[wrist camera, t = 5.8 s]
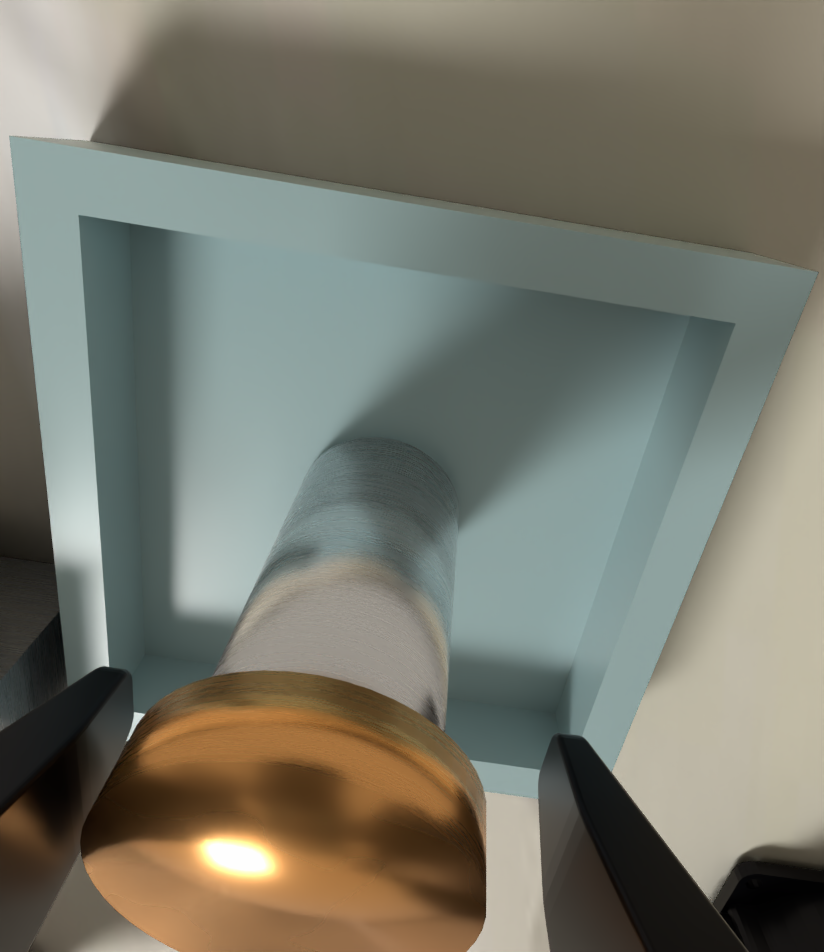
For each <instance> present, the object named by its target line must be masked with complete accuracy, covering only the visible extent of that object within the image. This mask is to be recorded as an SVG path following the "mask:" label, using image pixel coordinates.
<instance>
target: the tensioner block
mask: <svg viewBox="0 0 824 952" xmlns="http://www.w3.org/2000/svg"><path fill="white" fill-rule="evenodd" d="M67 687H68V684H67V674H66V665H65V655H64V646H63V637H62V627H61V618H60V608H59V599H58V590H57V580H56V571H55V564H48V563H41V562H35V561H28V560H21V559H15V558H8V557H1V556H0V731H1V730H3V729H4V728H6V727H7V726H9V725H11V724H12V723H14V722H15V721H17V720H18V719H20V718H21V717H23V716H24V715H26V714H27V713H29V712H30V711H32V710H33V709H35V708H36V707H38V706H39V705H41V704H43V703H44V702H46V701H47V700H49V699H50V698H52V697H53V696H55V695H56V694H58V693H59V692H61V691H62V690H64V689H65V688H67Z"/></svg>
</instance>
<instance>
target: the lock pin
mask: <svg viewBox="0 0 824 952" xmlns="http://www.w3.org/2000/svg"><path fill="white" fill-rule="evenodd" d="M458 520H459V503H458V497H457V494H456V491H455V488H454V486H453V484H452V482H451V480H450V478H449V476H448V475H447V473H446V472H445V471H444V469H443V468H442V467H441V466H440V465H439V464H438V463H437V462H436V461H435V460H434V459H432V458H431V457H430V456H429V455H427V454H426V453H424V452H423V451H421V450H419V449H417V448H415V447H413V446H412V445H409V444H406V443H404V442H401V441H397V440H393V439H388V438H379V437H366V438H358V439H353V440H349V441H346V442H343V443H340V444H338V445H336V446H334V447H332V448H330V449H328V450H327V451H326V452H324V453H323V454H322V455H320V457H319V458H318V459H317V460H316V461H315V462H314V463H313V464H312V466H311V467H310V468H309V470H308V472H307V474H306V476H305V478H304V480H303V482H302V484H301V486H300V489H299V491H298V493H297V495H296V497H295V499H294V501H293V504H292V506H291V508H290V510H289V512H288V514H287V516H286V519H285V521H284V523H283V525H282V527H281V529H280V531H279V534H278V536H277V538H276V540H275V542H274V544H273V546H272V549H271V551H270V553H269V555H268V557H267V559H266V561H265V564H264V566H263V568H262V570H261V572H260V574H259V576H258V579H257V581H256V583H255V585H254V587H253V589H252V591H251V594H250V596H249V598H248V600H247V602H246V604H245V606H244V609H243V611H242V613H241V615H240V617H239V619H238V621H237V624H236V626H235V628H234V630H233V632H232V634H231V636H230V639H229V641H228V643H227V645H226V647H225V649H224V651H223V654H222V656H221V658H220V660H219V662H218V664H217V667H216V669H215V671H214V673H213V675H212V677H209V678H206V679H202V680H198V681H195V682H192V683H190V684H188V685H185V686H183V687H181V688H179V689H176V690H174V691H173V692H171V693H170V694H168V695H166V696H165V697H163V698H162V699H160V700H159V701H158V702H157V703H155V704H154V705H153V706H152V707H151V708H150V709H149V710H148V711H147V712H146V713H145V715H144V716H143V717H142V719H141V720H140V721H139V723H138V724H137V726H136V728H135V729H134V731H133V733H132V735H131V737H130V739H129V740H128V742H127V744H126V746H125V748H124V750H123V751H122V753H121V755H120V757H119V759H118V760H117V762H116V764H115V766H114V768H113V770H112V771H111V773H110V775H109V777H108V779H107V781H106V782H105V784H104V786H103V788H102V790H101V791H100V793H99V795H98V797H97V799H96V801H95V802H94V804H93V806H92V808H91V810H90V812H89V813H88V815H87V818H86V820H85V822H84V825H83V827H82V831H81V838H80V848H81V857H82V860H83V863H84V866H85V869H86V871H87V873H88V875H89V877H90V878H91V880H92V882H93V884H94V885H95V887H96V888H97V889H98V891H99V892H100V893H101V895H102V896H103V897H104V898H105V899H106V900H107V901H108V902H109V903H110V904H111V906H112V907H113V908H114V909H115V910H116V911H117V912H119V913H120V914H121V915H122V916H124V917H125V918H126V919H127V920H128V921H130V922H131V923H132V924H133V925H135V926H136V927H138V928H139V929H141V930H142V931H144V932H145V933H147V934H148V935H150V936H151V937H153V938H155V939H157V940H158V941H160V942H162V943H164V944H165V945H167V946H169V947H171V948H173V949H175V950H177V951H179V952H466V951H467V950H468V949H469V948H470V947H471V946H472V945H473V944H474V943H475V941H476V940H477V938H478V936H479V934H480V933H481V931H482V928H483V925H484V921H485V918H486V799H485V794H484V789H483V785H482V783H481V781H480V778H479V776H478V773H477V771H476V769H475V768H474V766H473V765H472V763H471V762H470V760H469V758H468V757H467V755H466V754H465V753H464V752H463V751H462V750H461V748H460V747H459V746H458V745H457V744H456V743H455V742H454V740H452V739H451V738H450V737H449V736H448V735H447V734H446V733H445V725H446V709H447V694H448V678H449V662H450V646H451V630H452V614H453V599H454V583H455V567H456V551H457V535H458Z"/></svg>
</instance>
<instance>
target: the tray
mask: <svg viewBox="0 0 824 952" xmlns="http://www.w3.org/2000/svg"><path fill="white" fill-rule="evenodd" d="M9 138H10V147H11V157H12V166H13V176H14V185H15V194H16V204H17V213H18V223H19V232H20V242H21V251H22V260H23V270H24V279H25V289H26V298H27V307H28V317H29V326H30V336H31V345H32V354H33V364H34V373H35V383H36V392H37V401H38V411H39V420H40V430H41V439H42V449H43V458H44V467H45V477H46V486H47V496H48V505H49V514H50V524H51V533H52V543H53V552H54V561H55V571H56V580H57V590H58V599H59V608H60V618H61V627H62V637H63V646H64V655H65V665H66V674H67V684H68V686H70V685H71V684H73V683H75V682H76V681H78V680H79V679H81V678H82V677H84V676H85V675H87V674H88V673H90V672H91V671H93V670H94V669H96V668H99V667H102V666H106V667H113V668H120V669H126V670H128V671H130V673H131V675H132V681H133V703H134V718H133V723H132V727H131V730H130V733H129V735H128V738H127V740H126V741H128V740H129V739H130V737H131V735H132V733H133V731H134V729H135V728H136V726H137V724H138V723H139V721H140V720H141V719H142V717H143V716H144V715H145V713H146V712H147V711H148V710H149V709H150V708H151V707H152V706H153V705H154V704H155V703H157V702H158V701H159V700H160V699H162V698H163V697H165V696H166V695H168V694H170V693H171V692H173V691H174V690H176V689H179V688H181V687H183V686H185V685H188V684H190V683H192V682H195V681H198V680H202V679H206V678H209V677H212V675H213V673H214V671H215V669H216V667H217V664H218V662H219V660H220V658H221V656H222V654H223V651H224V649H225V647H226V645H227V643H228V641H229V639H230V636H231V634H232V632H233V630H234V628H235V626H236V624H237V621H238V619H239V617H240V615H241V613H242V611H243V609H244V606H245V604H246V602H247V600H248V598H249V596H250V594H251V591H252V589H253V587H254V585H255V583H256V581H257V579H258V576H259V574H260V572H261V570H262V568H263V566H264V564H265V561H266V559H267V557H268V555H269V553H270V551H271V549H272V546H273V544H274V542H275V540H276V538H277V536H278V534H279V531H280V529H281V527H282V525H283V523H284V521H285V519H286V516H287V514H288V512H289V510H290V508H291V506H292V504H293V501H294V499H295V497H296V495H297V493H298V491H299V489H300V486H301V484H302V482H303V480H304V478H305V476H306V474H307V472H308V470H309V468H310V467H311V466H312V464H313V463H314V462H315V461H316V460H317V459H318V458H319V457H320V455H322V454H323V453H324V452H326V451H327V450H328V449H330V448H332V447H334V446H336V445H338V444H340V443H343V442H346V441H349V440H353V439H358V438H366V437H379V438H388V439H393V440H397V441H401V442H404V443H406V444H409V445H412V446H413V447H415V448H417V449H419V450H421V451H423V452H424V453H426V454H427V455H429V456H430V457H431V458H432V459H434V460H435V461H436V462H437V463H438V464H439V465H440V466H441V467H442V468H443V469H444V471H445V472H446V473H447V475H448V476H449V478H450V480H451V482H452V484H453V486H454V488H455V491H456V494H457V497H458V503H459V520H458V535H457V551H456V567H455V583H454V599H453V614H452V630H451V646H450V662H449V678H448V694H447V709H446V725H445V733H446V734H447V735H448V736H449V737H450V738H451V739H452V740H454V742H455V743H456V744H457V745H458V746H459V747H460V748H461V750H462V751H463V752H464V753H465V754H466V755H467V757H468V758H469V760H470V762H471V763H472V765H473V766H474V768H475V769H476V771H477V773H478V776H479V778H480V781H481V783H482V785H483V789H484V791H486V792H493V793H500V794H507V795H514V796H522V797H529V798H536V799H538V779H539V773H540V770H541V767H542V764H543V761H544V758H545V755H546V752H547V749H548V746H549V743H550V741H551V738H552V737H553V735H554V734H555V733H566V734H573V735H580V736H582V737H584V738H585V739H586V740H587V741H588V742H589V743H590V745H591V746H592V747H593V749H594V750H595V751H596V753H597V754H598V755H599V757H600V758H601V759H602V760H603V762H604V763H605V764H606V766H607V767H608V768H609V770H610V771H611V772H612V770H613V767H614V765H615V762H616V760H617V758H618V755H619V753H620V750H621V748H622V746H623V743H624V741H625V738H626V736H627V734H628V731H629V729H630V726H631V724H632V721H633V719H634V717H635V714H636V712H637V709H638V707H639V705H640V702H641V700H642V697H643V695H644V693H645V690H646V688H647V685H648V683H649V680H650V678H651V676H652V673H653V671H654V668H655V666H656V664H657V661H658V659H659V656H660V654H661V652H662V649H663V647H664V644H665V642H666V639H667V637H668V635H669V632H670V630H671V627H672V625H673V623H674V620H675V618H676V615H677V613H678V610H679V608H680V606H681V603H682V601H683V598H684V596H685V594H686V591H687V589H688V586H689V584H690V582H691V579H692V577H693V574H694V572H695V569H696V567H697V565H698V562H699V560H700V557H701V555H702V553H703V550H704V548H705V545H706V543H707V541H708V538H709V536H710V533H711V531H712V528H713V526H714V524H715V521H716V519H717V516H718V514H719V512H720V509H721V507H722V504H723V502H724V499H725V497H726V495H727V492H728V490H729V487H730V485H731V483H732V480H733V478H734V475H735V473H736V471H737V468H738V466H739V463H740V461H741V458H742V456H743V454H744V451H745V449H746V446H747V444H748V442H749V439H750V437H751V434H752V432H753V430H754V427H755V425H756V422H757V420H758V417H759V415H760V413H761V410H762V408H763V405H764V403H765V401H766V398H767V396H768V393H769V391H770V388H771V386H772V384H773V381H774V379H775V376H776V374H777V372H778V369H779V367H780V364H781V362H782V360H783V357H784V355H785V352H786V350H787V347H788V345H789V343H790V340H791V338H792V335H793V333H794V331H795V328H796V326H797V323H798V321H799V319H800V316H801V314H802V311H803V309H804V306H805V304H806V302H807V299H808V297H809V294H810V292H811V290H812V287H813V285H814V282H815V280H816V277H817V275H818V273H819V272H816V271H813V270H809V269H806V268H802V267H799V266H795V265H792V264H788V263H785V262H781V261H778V260H774V259H771V258H767V257H764V256H760V255H757V254H754V253H749V252H743V251H737V250H731V249H725V248H719V247H713V246H707V245H702V244H696V243H690V242H684V241H678V240H672V239H666V238H660V237H654V236H648V235H642V234H636V233H631V232H625V231H619V230H613V229H607V228H601V227H595V226H589V225H583V224H577V223H571V222H565V221H560V220H554V219H548V218H542V217H536V216H530V215H524V214H518V213H512V212H506V211H500V210H494V209H489V208H483V207H477V206H471V205H465V204H459V203H453V202H447V201H441V200H435V199H429V198H423V197H418V196H412V195H406V194H400V193H394V192H388V191H382V190H376V189H370V188H364V187H358V186H352V185H347V184H341V183H335V182H329V181H323V180H317V179H311V178H305V177H299V176H293V175H287V174H281V173H276V172H270V171H264V170H258V169H252V168H246V167H240V166H234V165H228V164H222V163H216V162H210V161H205V160H199V159H193V158H187V157H181V156H175V155H169V154H163V153H157V152H151V151H145V150H139V149H134V148H128V147H122V146H116V145H110V144H104V143H98V142H92V141H83V140H68V139H52V138H37V137H22V136H9Z"/></svg>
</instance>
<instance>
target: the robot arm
mask: <svg viewBox="0 0 824 952" xmlns="http://www.w3.org/2000/svg"><path fill="white" fill-rule="evenodd" d="M133 718H134V703H133V681H132V675H131V673H130V671H128V670H126V669H120V668H113V667H106V666H102V667H99V668H96V669H94V670H93V671H91V672H90V673H88V674H87V675H85V676H84V677H82V678H81V679H79V680H78V681H76V682H75V683H73V684H71V685H70V686H68V687H67V688H65V689H64V690H62V691H61V692H59V693H58V694H56V695H55V696H53V697H52V698H50V699H49V700H47V701H46V702H44V703H43V704H41V705H39V706H38V707H36V708H35V709H33V710H32V711H30V712H29V713H27V714H26V715H24V716H23V717H21V718H20V719H18V720H17V721H15V722H14V723H12V724H11V725H9V726H7V727H6V728H4V729H3V730H1V731H0V952H28V951H29V949H30V947H31V945H32V943H33V941H34V939H35V937H36V935H37V934H38V932H39V930H40V928H41V926H42V924H43V922H44V920H45V918H46V916H47V915H48V913H49V911H50V909H51V907H52V905H53V903H54V901H55V899H56V897H57V895H58V894H59V892H60V890H61V888H62V886H63V884H64V882H65V880H66V878H67V876H68V875H69V873H70V871H71V869H72V867H73V865H74V863H75V861H76V859H77V857H78V855H79V853H80V851H81V848H80V838H81V831H82V827H83V825H84V822H85V820H86V818H87V815H88V813H89V812H90V810H91V808H92V806H93V804H94V802H95V801H96V799H97V797H98V795H99V793H100V791H101V790H102V788H103V786H104V784H105V782H106V781H107V779H108V777H109V775H110V773H111V771H112V770H113V768H114V766H115V764H116V762H117V760H118V759H119V757H120V755H121V753H122V750H123V748H124V745H125V743H126V740H127V738H128V735H129V733H130V730H131V727H132V723H133ZM538 801H539V823H540V845H541V867H542V887H543V903H544V911H545V919H546V927H547V933H548V940H549V947H550V952H824V871H820V870H813V869H805V868H798V867H791V866H784V865H777V864H769V863H762V862H755V861H748V862H744V863H741V864H739V865H737V866H736V867H735V868H734V869H733V871H732V872H731V874H730V876H729V878H728V879H727V881H726V883H725V884H724V886H723V888H722V889H721V891H720V893H719V895H718V896H717V898H716V900H715V901H714V903H713V904H712V903H711V902H710V900H709V899H708V898H707V897H706V895H705V894H704V893H703V891H702V890H701V889H700V887H699V886H698V885H697V883H696V882H695V881H694V880H693V878H692V877H691V876H690V874H689V873H688V872H687V870H686V869H685V868H684V866H683V865H682V864H681V863H680V861H679V860H678V859H677V857H676V856H675V855H674V853H673V852H672V851H671V849H670V848H669V847H668V846H667V844H666V843H665V842H664V840H663V839H662V838H661V836H660V835H659V834H658V832H657V831H656V830H655V829H654V827H653V826H652V825H651V823H650V822H649V821H648V819H647V818H646V817H645V815H644V814H643V813H642V812H641V810H640V809H639V808H638V806H637V805H636V804H635V802H634V801H633V800H632V798H631V797H630V796H629V795H628V793H627V792H626V791H625V789H624V788H623V787H622V785H621V784H620V783H619V781H618V780H617V779H616V777H615V776H614V775H613V774H612V772H611V771H610V770H609V768H608V767H607V766H606V764H605V763H604V762H603V760H602V759H601V758H600V757H599V755H598V754H597V753H596V751H595V750H594V749H593V747H592V746H591V745H590V743H589V742H588V741H587V740H586V739H585V738H584V737H582V736H580V735H573V734H566V733H555V734H554V735H553V737H552V738H551V741H550V743H549V746H548V749H547V752H546V755H545V758H544V761H543V764H542V767H541V770H540V773H539V779H538Z"/></svg>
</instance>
